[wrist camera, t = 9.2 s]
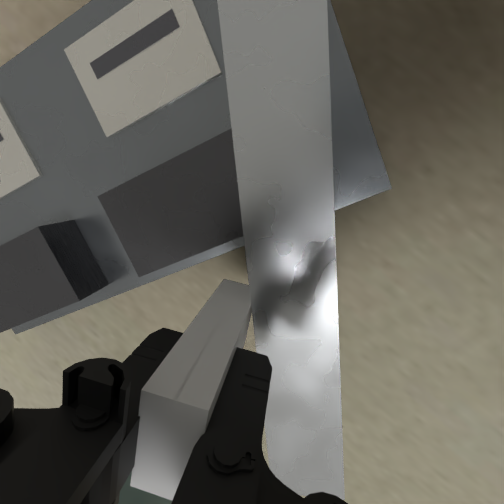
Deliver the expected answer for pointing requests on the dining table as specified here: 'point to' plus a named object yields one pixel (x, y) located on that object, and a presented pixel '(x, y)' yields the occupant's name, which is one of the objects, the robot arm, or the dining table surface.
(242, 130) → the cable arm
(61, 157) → the panel
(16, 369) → the dining table surface
